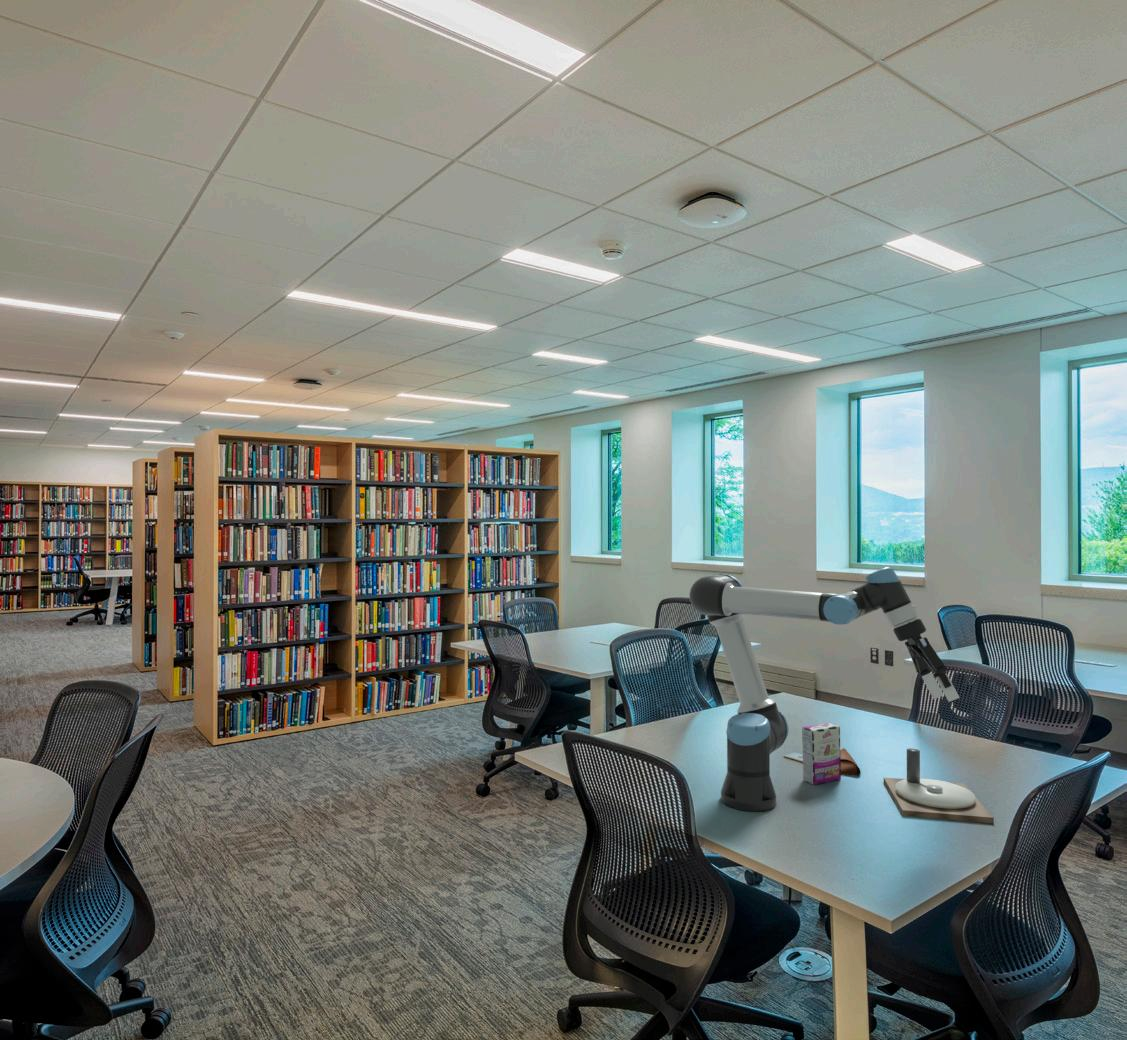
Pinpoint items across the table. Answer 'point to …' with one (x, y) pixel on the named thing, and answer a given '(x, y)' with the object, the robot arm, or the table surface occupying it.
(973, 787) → the table surface
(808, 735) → the candy bar box
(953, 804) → the dial
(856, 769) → the sunglasses case
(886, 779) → the dial base
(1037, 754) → the table surface
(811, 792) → the table surface
